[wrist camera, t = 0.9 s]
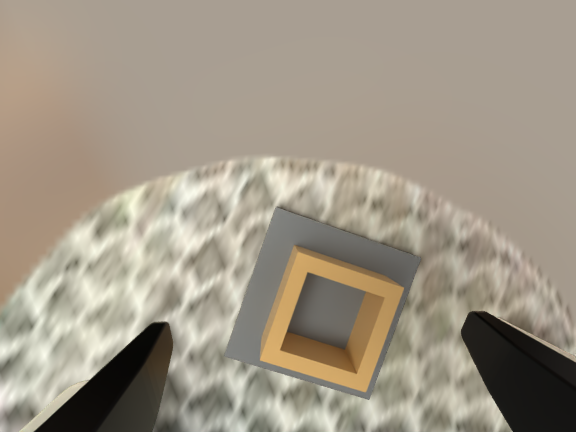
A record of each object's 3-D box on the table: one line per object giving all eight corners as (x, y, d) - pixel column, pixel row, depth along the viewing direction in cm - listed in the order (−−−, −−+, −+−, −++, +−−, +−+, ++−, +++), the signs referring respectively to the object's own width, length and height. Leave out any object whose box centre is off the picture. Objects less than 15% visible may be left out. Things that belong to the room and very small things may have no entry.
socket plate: (365, 392, 26) (384, 431, 22) (225, 350, 25) (215, 382, 21) (415, 255, 26) (445, 266, 21) (275, 206, 25) (276, 208, 20)
